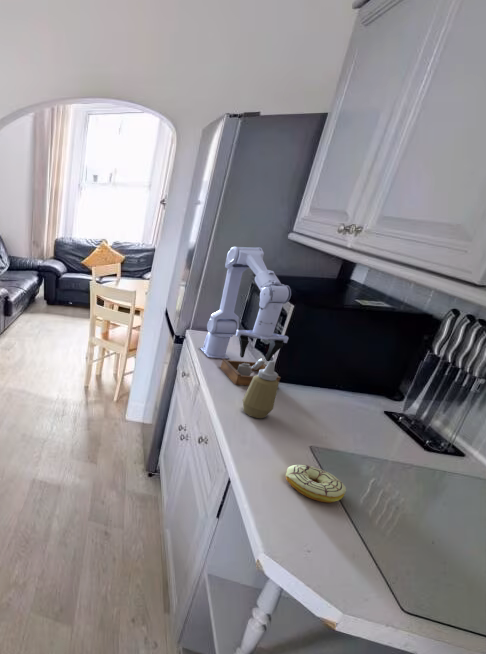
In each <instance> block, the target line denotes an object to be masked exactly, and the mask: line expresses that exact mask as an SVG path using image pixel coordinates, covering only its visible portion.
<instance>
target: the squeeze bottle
mask: <svg viewBox="0 0 486 654" xmlns="http://www.w3.org/2000/svg"><path fill="white" fill-rule="evenodd" d="M275 365H276V362H275V360H270V361H268V363H267V366H266V368H265V369H261V370H259V373H258V372H257V375H253V376H254V377H253V379H252V381H251V383H250V385H249V386H248V388H247V390H246V391H245V394H244V396H243V398H242V407H243V408H242V409H243V412H244V414H246V415H248V416H249V417H253V418H254V419H255V418H257V419H264V418H266V417H267V416H268V415H269V414H270V413H271V412H272V410H274V406H275V402H276V398H277V392H278V389H279V384H280V381H279V382H278V381H277V380H276V379H277V376H279V374H278V373H277V372H276V371H275V367H276V366H275Z"/></svg>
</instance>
